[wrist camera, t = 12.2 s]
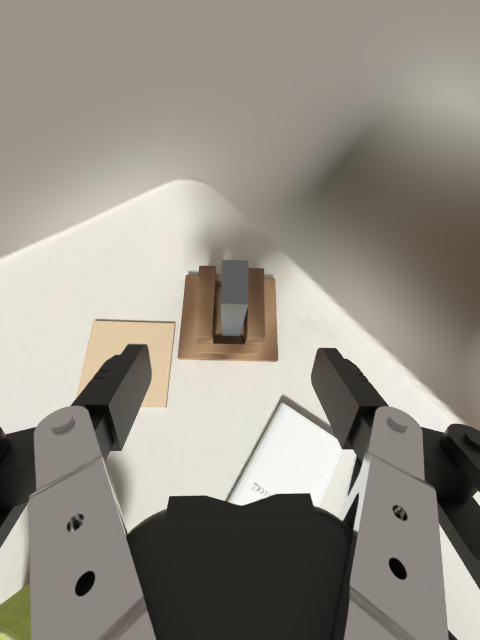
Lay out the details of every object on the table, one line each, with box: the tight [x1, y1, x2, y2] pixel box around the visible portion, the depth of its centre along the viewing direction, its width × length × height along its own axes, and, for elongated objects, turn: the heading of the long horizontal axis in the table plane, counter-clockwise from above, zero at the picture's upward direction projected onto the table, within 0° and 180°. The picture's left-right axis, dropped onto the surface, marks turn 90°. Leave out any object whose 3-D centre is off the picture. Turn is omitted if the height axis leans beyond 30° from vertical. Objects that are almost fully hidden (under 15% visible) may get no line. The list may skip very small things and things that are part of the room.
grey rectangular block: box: [221, 260, 248, 336], centre depth 24 cm, size 2×4×10 cm, turn 179°
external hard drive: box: [228, 402, 343, 507], centre depth 25 cm, size 2×8×12 cm
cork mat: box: [76, 321, 175, 407], centre depth 27 cm, size 10×10×1 cm
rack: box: [178, 266, 278, 362], centre depth 27 cm, size 12×11×6 cm
